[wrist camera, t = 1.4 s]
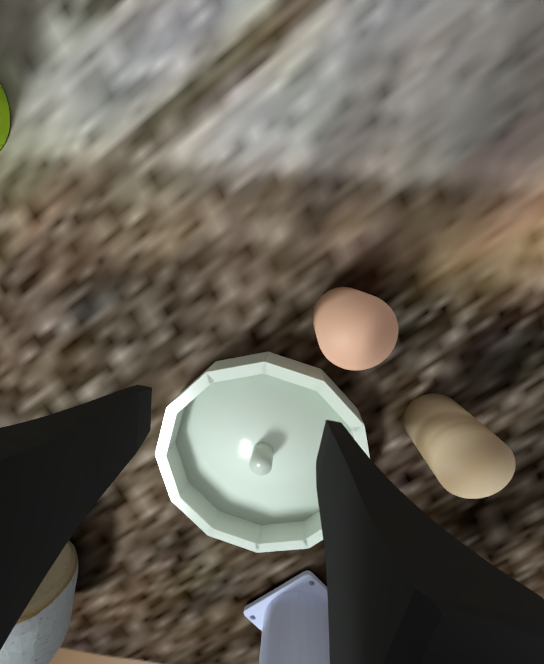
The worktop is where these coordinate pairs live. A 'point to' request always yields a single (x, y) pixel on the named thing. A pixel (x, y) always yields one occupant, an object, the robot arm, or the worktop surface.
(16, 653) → the ceramic mug
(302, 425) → the groove tray
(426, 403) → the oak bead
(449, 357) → the worktop surface
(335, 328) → the peach rounded oval piece
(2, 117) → the soap dispenser
